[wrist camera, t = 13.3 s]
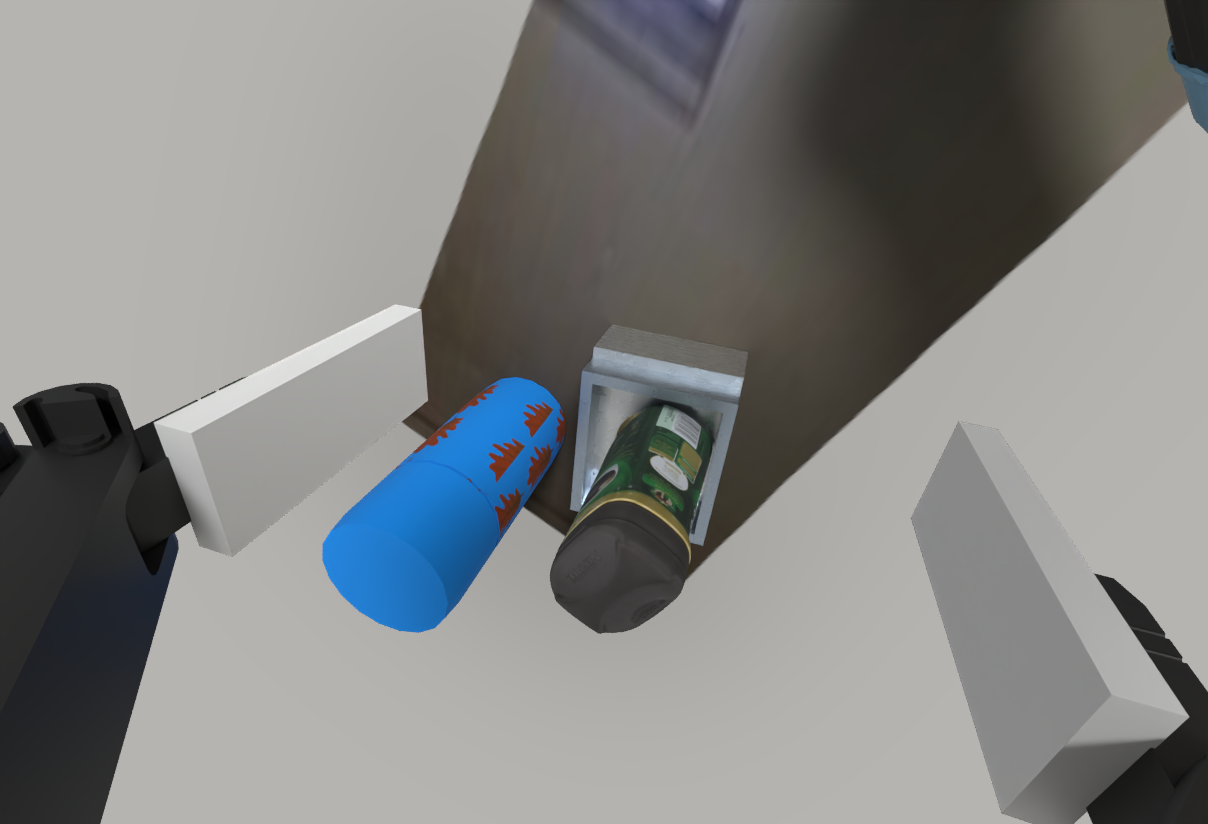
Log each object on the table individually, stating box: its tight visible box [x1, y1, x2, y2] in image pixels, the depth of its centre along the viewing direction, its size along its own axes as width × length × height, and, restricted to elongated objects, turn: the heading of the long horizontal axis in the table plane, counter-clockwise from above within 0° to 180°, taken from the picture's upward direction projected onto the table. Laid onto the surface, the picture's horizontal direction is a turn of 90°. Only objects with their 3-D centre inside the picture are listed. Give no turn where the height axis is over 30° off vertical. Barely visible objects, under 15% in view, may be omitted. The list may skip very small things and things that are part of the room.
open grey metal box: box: [570, 324, 748, 546], centre depth 52 cm, size 13×17×9 cm
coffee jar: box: [550, 404, 712, 634], centre depth 43 cm, size 10×8×19 cm
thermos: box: [323, 377, 566, 632], centre depth 51 cm, size 11×11×25 cm
